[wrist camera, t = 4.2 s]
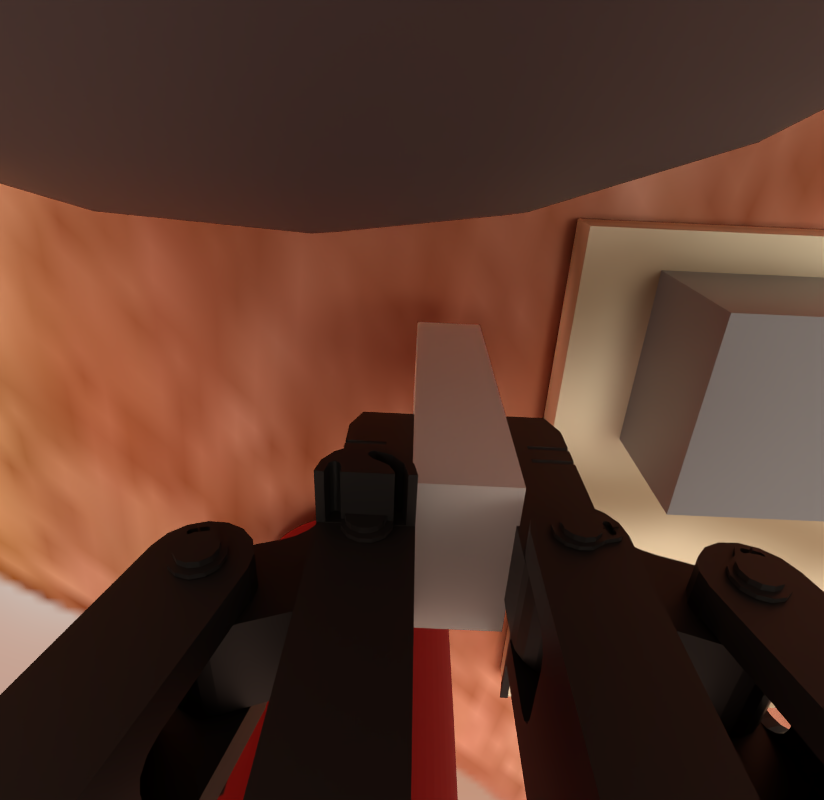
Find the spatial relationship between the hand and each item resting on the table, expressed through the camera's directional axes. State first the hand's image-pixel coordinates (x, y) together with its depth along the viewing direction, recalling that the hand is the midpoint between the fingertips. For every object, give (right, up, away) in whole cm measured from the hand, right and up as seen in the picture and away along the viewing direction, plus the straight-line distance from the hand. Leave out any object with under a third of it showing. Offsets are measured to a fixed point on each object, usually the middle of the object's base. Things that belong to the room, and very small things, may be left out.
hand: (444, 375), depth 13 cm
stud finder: (+9, 0, +1) cm, 10 cm away
